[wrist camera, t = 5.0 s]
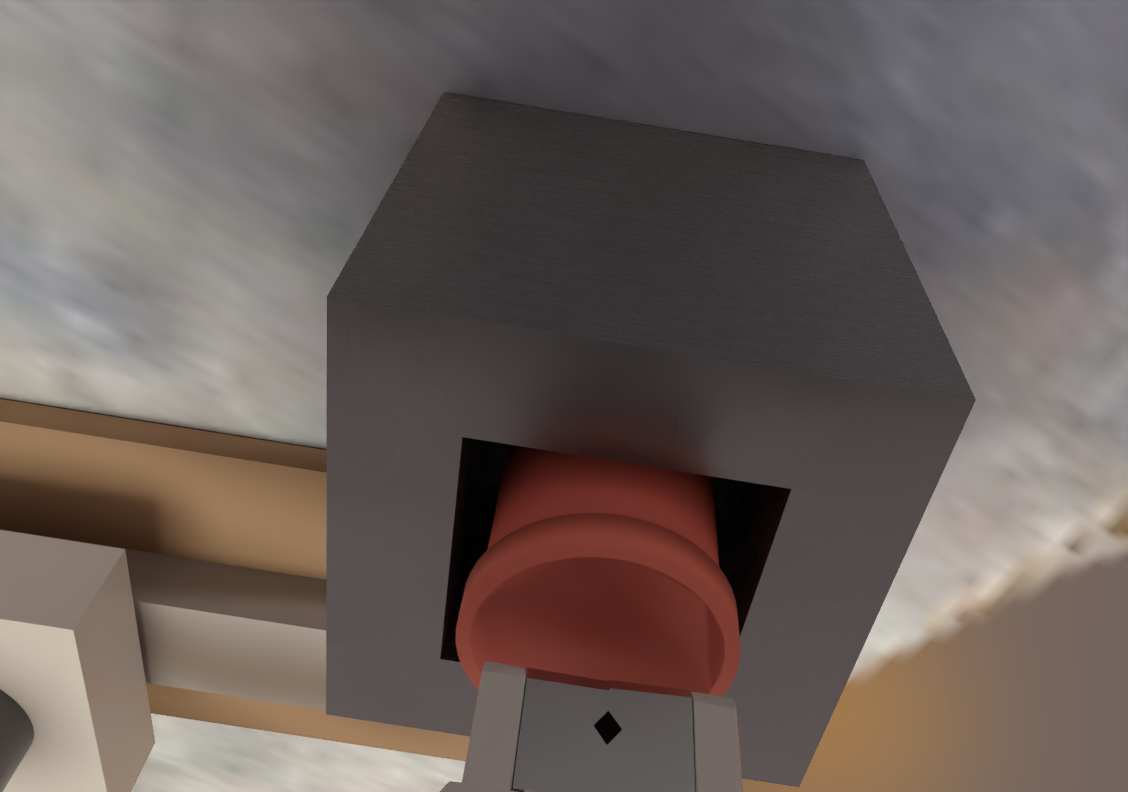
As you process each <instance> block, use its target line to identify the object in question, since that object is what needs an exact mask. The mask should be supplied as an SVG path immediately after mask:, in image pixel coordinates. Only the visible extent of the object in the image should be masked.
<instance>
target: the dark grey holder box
mask: <svg viewBox="0 0 1128 792" xmlns="http://www.w3.org/2000/svg"><path fill="white" fill-rule="evenodd" d="M974 402H975V397H974V395H973V393H972V391H971V389H970V387H969V385H968V382H967V380H966V378H965V376H964V374H963V372H962V370H961V367H960V365H959V363H958V361H957V359H956V357H955V355H954V352H953V350H952V348H951V346H950V344H949V342H948V340H947V337H946V335H945V333H944V331H943V329H942V327H941V325H940V322H939V320H938V318H937V316H936V314H935V312H934V310H933V307H932V305H931V303H930V301H929V299H928V297H927V295H926V292H925V290H924V288H923V286H922V284H921V282H920V280H919V277H918V275H917V273H916V271H915V269H914V267H913V265H912V262H911V260H910V258H909V256H908V254H907V252H906V250H905V247H904V245H903V243H902V241H901V239H900V237H899V235H898V232H897V230H896V228H895V226H894V224H893V222H892V220H891V217H890V215H889V213H888V211H887V209H886V207H885V205H884V202H883V200H882V198H881V196H880V194H879V192H878V190H877V187H876V185H875V183H874V181H873V179H872V177H871V175H870V172H869V170H868V168H867V166H866V164H865V162H864V161H863V160H857V159H851V158H845V157H839V156H832V155H826V154H820V153H814V152H808V151H802V150H796V149H789V148H783V147H777V146H771V145H765V144H759V143H752V142H746V141H740V140H734V139H728V138H722V137H715V136H709V135H703V134H697V133H691V132H685V131H678V130H672V129H666V128H660V127H654V126H648V125H641V124H635V123H629V122H623V121H617V120H611V119H605V118H598V117H592V116H586V115H580V114H574V113H568V112H561V111H555V110H549V109H543V108H537V107H531V106H524V105H518V104H512V103H506V102H500V101H494V100H487V99H481V98H475V97H469V96H463V95H457V94H450V93H443V95H442V97H441V98H440V100H439V102H438V104H437V105H436V107H435V109H434V111H433V112H432V114H431V116H430V118H429V119H428V121H427V123H426V125H425V126H424V128H423V130H422V132H421V133H420V135H419V137H418V139H417V140H416V142H415V144H414V146H413V147H412V149H411V151H410V153H409V154H408V156H407V158H406V160H405V161H404V163H403V165H402V167H401V168H400V170H399V172H398V174H397V175H396V177H395V179H394V181H393V182H392V184H391V186H390V188H389V189H388V191H387V193H386V195H385V196H384V198H383V200H382V202H381V203H380V205H379V207H378V208H377V210H376V212H375V214H374V215H373V217H372V219H371V221H370V222H369V224H368V226H367V228H366V229H365V231H364V233H363V235H362V236H361V238H360V240H359V242H358V243H357V245H356V247H355V249H354V250H353V252H352V254H351V256H350V257H349V259H348V261H347V263H346V264H345V266H344V268H343V270H342V271H341V273H340V275H339V277H338V278H337V280H336V282H335V284H334V285H333V287H332V289H331V291H330V292H329V294H328V296H327V541H326V715H333V716H339V717H346V718H352V719H359V720H366V721H372V722H379V723H385V724H392V725H398V726H405V727H411V728H418V729H424V730H431V731H437V732H444V733H450V734H457V735H463V736H470V735H471V730H472V724H473V718H474V713H475V707H476V702H477V696H478V690H477V689H476V687H475V686H474V685H473V684H472V682H471V681H470V680H469V678H468V676H467V675H466V673H465V671H464V669H463V667H462V665H461V662H460V659H459V657H458V653H457V647H456V626H457V621H458V616H459V611H460V607H461V602H462V598H463V593H464V589H465V584H466V582H467V579H468V577H469V575H470V572H471V570H472V569H473V567H474V566H475V564H476V563H477V561H478V560H479V558H480V557H481V556H482V555H483V554H484V553H485V552H486V551H487V549H488V544H489V539H490V534H491V529H492V525H493V520H494V515H495V510H496V505H497V500H498V495H499V490H500V486H501V481H502V476H503V471H504V466H505V461H506V456H507V451H508V447H509V444H510V445H516V446H522V447H529V448H535V449H541V450H548V451H554V452H560V453H567V454H573V455H579V456H586V457H592V458H598V459H605V460H611V461H617V462H624V463H630V464H636V465H643V466H649V467H655V468H662V469H668V470H674V471H681V472H687V473H694V474H700V475H706V476H713V488H714V502H715V515H716V529H717V543H718V557H719V568H720V569H721V570H722V572H723V573H724V574H725V576H726V578H727V580H728V582H729V584H730V586H731V587H732V590H733V594H734V597H735V600H736V606H737V613H738V625H739V636H740V647H741V648H740V661H739V665H738V669H737V673H736V675H735V677H734V679H733V682H732V684H731V685H730V687H729V688H728V690H727V691H726V693H725V694H724V696H726V697H731V698H732V699H733V701H734V703H735V705H736V712H737V724H738V736H739V748H740V760H741V772H742V778H743V779H750V780H756V781H763V782H769V783H776V784H782V785H789V786H795V787H799V786H800V784H801V782H802V779H803V777H804V775H805V773H806V771H807V768H808V766H809V764H810V762H811V759H812V758H813V755H814V753H815V751H816V748H817V747H818V744H819V742H820V740H821V738H822V736H823V733H824V731H825V729H826V727H827V724H828V722H829V720H830V718H831V716H832V713H833V711H834V709H835V707H836V705H837V703H838V700H839V698H840V696H841V694H842V692H843V690H844V687H845V685H846V683H847V681H848V679H849V676H850V674H851V672H852V670H853V668H854V665H855V663H856V661H857V659H858V657H859V654H860V652H861V650H862V648H863V646H864V643H865V641H866V639H867V637H868V635H869V633H870V630H871V628H872V626H873V624H874V622H875V619H876V617H877V615H878V613H879V611H880V608H881V606H882V604H883V602H884V600H885V597H886V595H887V593H888V591H889V589H890V586H891V584H892V582H893V580H894V578H895V575H896V573H897V571H898V569H899V567H900V565H901V562H902V560H903V558H904V556H905V554H906V551H907V549H908V547H909V545H910V543H911V540H912V538H913V536H914V534H915V532H916V529H917V527H918V525H919V523H920V521H921V518H922V516H923V514H924V512H925V510H926V507H927V505H928V503H929V501H930V499H931V497H932V494H933V492H934V490H935V488H936V486H937V483H938V481H939V479H940V477H941V475H942V472H943V470H944V468H945V466H946V464H947V461H948V459H949V457H950V455H951V453H952V450H953V448H954V446H955V444H956V442H957V440H958V437H959V435H960V433H961V431H962V429H963V426H964V424H965V422H966V420H967V418H968V415H969V413H970V411H971V409H972V407H973V404H974Z"/></svg>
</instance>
